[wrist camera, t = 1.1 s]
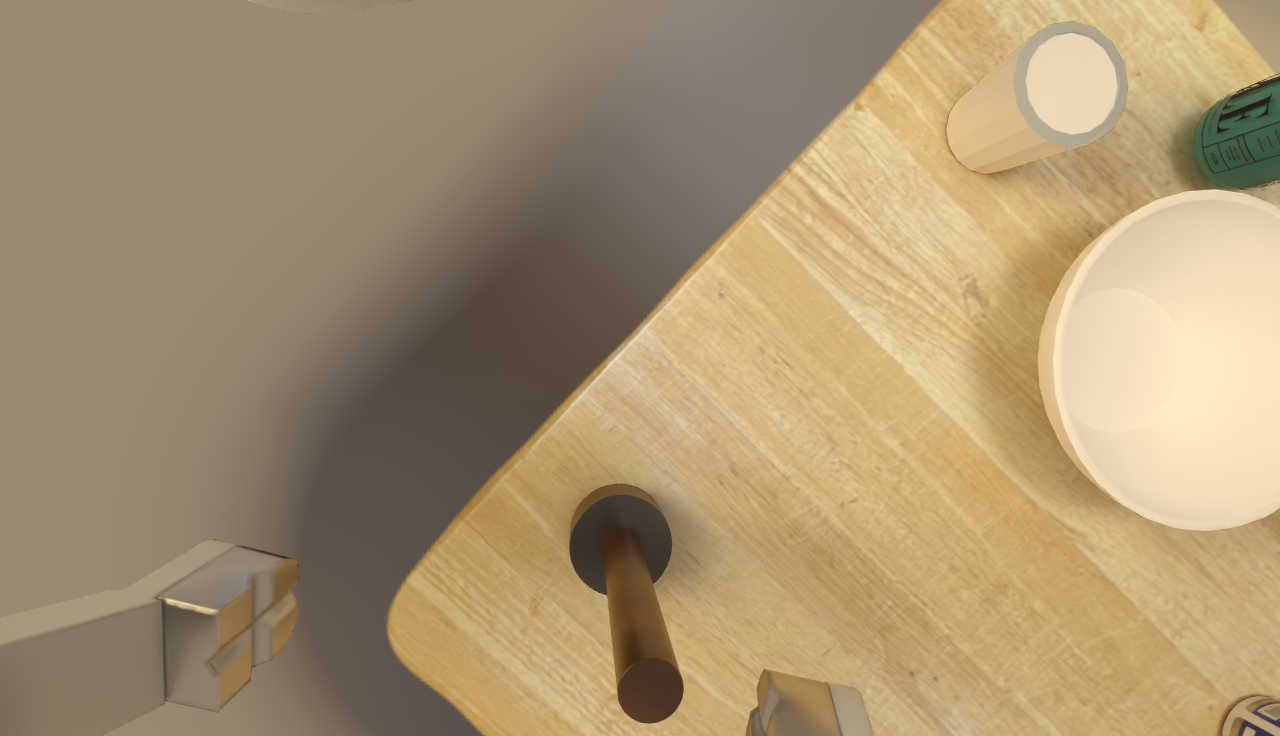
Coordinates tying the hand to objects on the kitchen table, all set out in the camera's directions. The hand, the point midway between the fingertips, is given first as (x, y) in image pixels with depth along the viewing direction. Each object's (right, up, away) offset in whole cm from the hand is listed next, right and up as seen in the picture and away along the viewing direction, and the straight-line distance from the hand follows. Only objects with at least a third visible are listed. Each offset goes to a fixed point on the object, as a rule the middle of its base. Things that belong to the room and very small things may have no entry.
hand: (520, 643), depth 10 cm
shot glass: (+25, +20, +29) cm, 44 cm away
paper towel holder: (+1, -6, +27) cm, 28 cm away
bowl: (+34, +5, +31) cm, 46 cm away
